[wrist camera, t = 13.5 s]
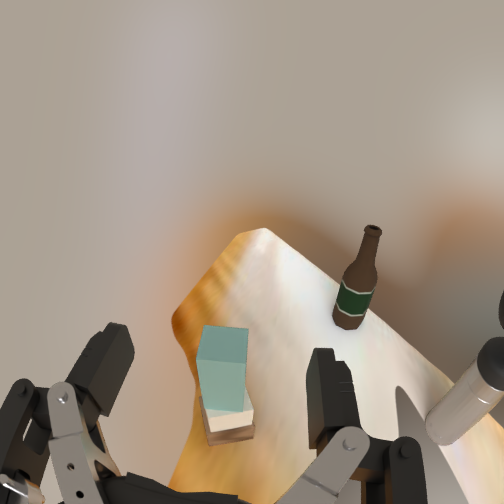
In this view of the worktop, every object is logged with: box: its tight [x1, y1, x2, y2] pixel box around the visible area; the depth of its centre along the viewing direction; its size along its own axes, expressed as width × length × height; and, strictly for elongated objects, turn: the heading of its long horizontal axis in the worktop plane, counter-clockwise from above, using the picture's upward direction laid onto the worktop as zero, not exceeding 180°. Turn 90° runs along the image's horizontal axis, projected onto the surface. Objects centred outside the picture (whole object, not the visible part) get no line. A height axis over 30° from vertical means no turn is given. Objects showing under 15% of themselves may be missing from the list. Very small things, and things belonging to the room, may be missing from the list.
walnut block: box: [199, 396, 255, 446], centre depth 37 cm, size 7×7×5 cm
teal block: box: [196, 325, 248, 412], centre depth 31 cm, size 5×5×11 cm
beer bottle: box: [332, 225, 382, 330], centre depth 56 cm, size 8×8×24 cm
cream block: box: [205, 387, 254, 432], centre depth 35 cm, size 6×6×5 cm
